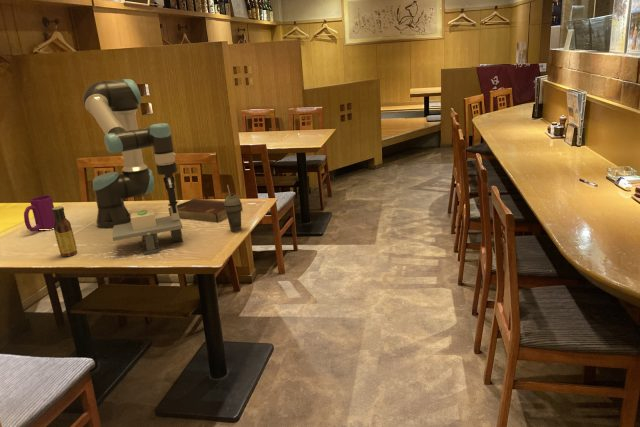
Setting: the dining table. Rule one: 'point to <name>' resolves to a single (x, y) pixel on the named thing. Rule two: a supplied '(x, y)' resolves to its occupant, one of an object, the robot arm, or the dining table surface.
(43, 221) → the mug
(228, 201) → the beverage cup
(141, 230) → the instrument plate
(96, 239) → the dining table surface
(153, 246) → the pivot stand
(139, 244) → the dining table surface
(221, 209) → the hardback book
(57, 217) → the sauce bottle
